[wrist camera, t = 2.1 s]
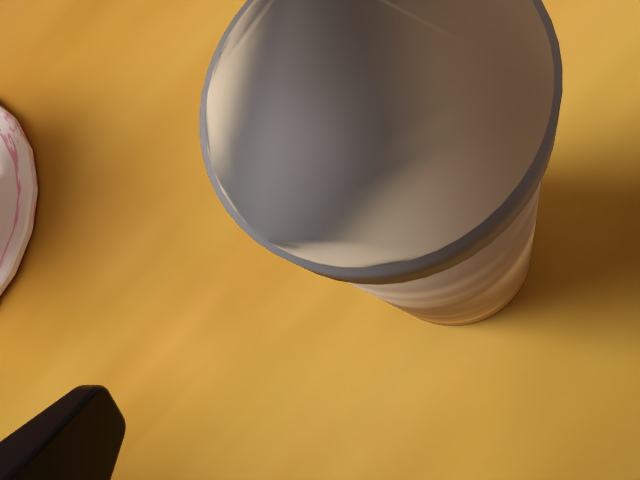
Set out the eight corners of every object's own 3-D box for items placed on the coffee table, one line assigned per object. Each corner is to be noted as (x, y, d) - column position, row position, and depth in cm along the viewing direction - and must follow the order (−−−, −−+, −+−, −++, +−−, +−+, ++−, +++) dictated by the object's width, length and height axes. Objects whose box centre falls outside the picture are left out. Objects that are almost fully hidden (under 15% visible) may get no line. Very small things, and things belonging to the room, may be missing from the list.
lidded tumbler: (439, 362, 19) (328, 356, 8) (343, 240, 21) (143, 92, 10) (571, 258, 18) (658, 91, 7) (461, 142, 20) (394, -136, 9)
